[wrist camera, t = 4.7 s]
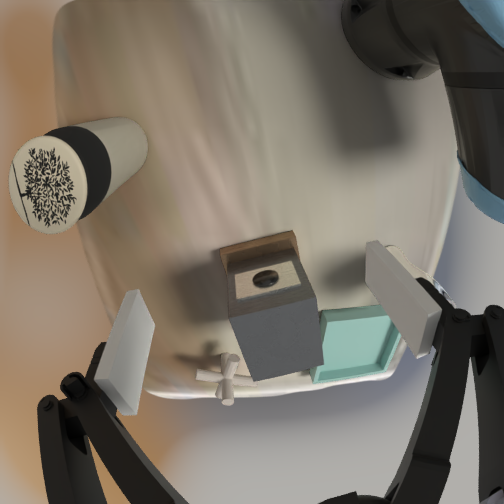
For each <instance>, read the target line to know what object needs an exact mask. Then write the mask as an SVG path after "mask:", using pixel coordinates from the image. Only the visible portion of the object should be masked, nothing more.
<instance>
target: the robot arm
mask: <svg viewBox="0 0 504 504" xmlns="http://www.w3.org/2000/svg"><path fill="white" fill-rule="evenodd" d="M341 18H342V26H343V30H344V33H345V35H346V38H347V40H348V42H349V44H350V46H351V47H352V49H353V50H354V52H355V53H356V54H357V56H358V57H359V58H360V59H361V60H362V61H363V62H364V63H365V64H366V65H367V66H369V67H370V68H371V69H373V70H374V71H376V72H377V73H379V74H381V75H383V76H385V77H388V78H391V79H395V80H418V79H422V78H425V77H427V76H429V75H431V74H432V73H434V72H435V71H437V70H438V69H441V72H442V76H443V79H444V83H445V88H446V92H447V96H448V100H449V104H450V109H451V114H452V118H453V124H454V129H455V135H456V140H457V147H458V150H457V158H458V162H459V164H460V168H461V173H462V180H463V186H464V189H465V192H466V194H467V196H468V197H469V199H470V200H471V201H472V202H473V203H474V204H475V206H476V207H477V208H478V209H479V210H480V211H482V212H483V213H484V214H486V215H487V216H489V217H491V218H492V219H494V220H496V221H498V222H500V223H503V224H504V0H344V3H343V6H342V13H341ZM365 283H366V284H367V286H368V287H369V289H370V290H371V291H372V293H373V294H374V296H375V297H376V299H377V300H378V301H379V303H380V304H381V306H382V307H383V309H384V310H385V312H386V313H387V315H388V316H389V318H390V319H391V320H392V322H393V323H394V325H395V326H396V328H397V329H398V331H399V333H400V334H401V336H402V337H403V339H404V340H405V342H406V343H407V345H408V346H409V348H410V349H411V351H412V353H413V354H414V356H415V357H416V359H417V358H419V357H422V356H425V355H427V354H429V353H430V351H431V347H432V345H433V346H434V348H435V349H436V353H435V356H434V358H433V361H432V364H431V365H432V369H431V373H430V377H429V381H428V385H427V388H426V393H425V396H424V399H423V402H422V406H421V409H420V412H419V415H418V419H417V422H416V424H415V427H414V430H413V433H412V436H411V438H410V441H409V444H408V447H407V449H406V452H405V454H404V457H403V459H402V462H401V464H400V466H399V469H398V471H397V474H396V476H395V478H394V479H393V481H392V483H391V485H390V487H389V488H388V490H387V492H386V494H385V497H384V498H381V497H377V496H371V495H357V493H356V491H355V492H351V493H348V494H345V495H341V496H337V497H334V498H330V499H327V500H325V501H323V502H321V503H319V504H438V503H439V500H440V498H441V495H442V492H443V490H444V487H445V484H446V481H447V478H448V475H449V472H450V468H451V463H450V462H449V459H450V455H451V452H452V448H453V444H454V441H455V437H456V433H457V429H458V424H459V420H460V415H461V410H462V405H463V400H464V394H465V388H466V382H467V375H468V367H469V359H470V357H471V362H472V368H473V375H474V383H475V390H476V400H477V412H478V427H479V490H478V492H479V504H504V309H503V308H502V307H500V306H498V305H489V306H488V307H487V308H486V309H485V311H484V314H482V315H470V313H468V312H467V311H466V310H463V309H457V308H454V307H453V306H452V305H451V304H450V303H449V302H448V300H447V299H446V298H445V297H444V296H443V295H442V294H441V293H440V292H439V291H438V290H437V289H436V288H435V286H434V285H433V284H432V283H431V282H430V281H428V280H426V279H424V278H422V277H419V278H416V279H415V278H414V277H413V276H412V275H411V274H410V273H409V272H408V271H407V270H406V269H405V268H404V267H403V266H402V265H401V264H400V263H399V261H398V260H397V259H396V258H395V257H394V256H393V255H392V254H391V253H390V252H389V251H388V250H387V249H386V248H385V247H384V246H383V245H382V244H381V243H380V242H379V241H378V240H376V241H372V242H367V243H366V272H365ZM154 328H155V324H154V322H153V320H152V318H151V316H150V313H149V311H148V309H147V307H146V305H145V302H144V300H143V298H142V296H141V293H140V291H139V289H136V290H131V291H127V293H126V295H125V297H124V300H123V302H122V305H121V307H120V309H119V312H118V314H117V317H116V319H115V322H114V325H113V327H112V330H111V332H110V335H109V338H108V341H107V342H101V344H100V345H99V346H98V347H97V348H96V350H95V352H94V355H93V358H92V360H91V364H90V366H89V368H88V371H87V374H86V377H85V378H84V376H83V375H82V374H81V373H79V372H72V373H70V374H68V375H67V376H66V377H64V379H63V380H62V382H61V385H60V389H61V391H62V392H63V393H64V394H65V396H66V397H67V398H66V399H62V400H58V399H57V398H56V397H55V396H54V395H47V396H45V397H43V398H42V399H41V401H40V402H39V404H38V407H37V415H38V432H39V444H40V453H41V461H42V469H43V475H44V480H45V486H46V492H47V497H48V502H49V504H107V501H106V498H105V496H104V493H103V489H102V487H101V483H100V480H99V477H98V474H97V470H96V467H95V463H94V459H93V456H92V452H91V448H90V444H89V440H88V437H89V439H90V441H91V443H92V444H93V446H94V448H95V450H96V452H97V453H98V455H99V457H100V458H101V460H102V462H103V463H104V465H105V466H106V468H107V469H108V471H109V473H110V474H111V476H112V477H113V479H114V480H115V482H116V483H117V485H118V486H119V488H120V489H121V491H122V492H123V494H124V495H125V496H126V498H127V499H128V501H129V502H130V503H131V504H189V503H188V502H187V501H186V500H185V499H184V498H183V497H182V496H181V495H180V494H179V493H178V492H177V491H176V490H175V489H174V488H173V487H172V485H171V484H170V483H169V482H168V481H167V480H166V479H165V477H164V476H163V475H162V474H161V473H160V472H159V471H158V469H157V468H156V467H155V466H154V465H153V464H152V462H151V461H150V460H149V459H148V457H147V456H146V455H145V453H144V452H143V451H142V450H141V448H140V447H139V446H138V444H136V442H135V441H134V439H133V438H132V437H131V435H130V434H129V432H128V431H127V430H126V428H125V427H124V425H123V424H122V423H121V421H120V420H119V418H118V417H117V416H116V412H117V409H118V410H119V411H120V412H121V414H122V415H137V411H138V405H139V399H140V394H141V389H142V384H143V379H144V374H145V369H146V364H147V359H148V354H149V350H150V345H151V341H152V336H153V332H154Z"/></svg>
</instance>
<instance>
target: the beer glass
mask: <svg viewBox="0 0 504 504" xmlns="http://www.w3.org/2000/svg"><path fill="white" fill-rule="evenodd" d="M385 248H386V249H387V250H388V251H389V252H390V253H391V254H392V255H393V256H394V257H395V258H396V259H397V260H398V261H399V263H400V264H401V265H402V266H403V267H404V268H405V269H406V270H407V271H408V272H409V273H410V274H411V275H412V276H413V277H414V278H415V279H416V278H419V277H422V278H424V279H426V280H428V281H430V282H431V283H432V284H433V285H434V286H435V288H436V289H437V290H438V291H439V292H440V293H441V294H442V295H443V296H444V297H445V298H446V299H447V300H448V302H449V303H450V304H451V305H452V306H453V307H454V308H456V304H455V303H454V302H453V301H452V299H451V298H450V297H449V295H448V294H447V293H446V291H445V290H444V289H443V288H442V287H441V285H440V284H439V283H438V282H437V281H436V280H435V279H434V278H432V277H431V276H430V275H428V274H427V273H426V272H424V271H422V270H421V269H419V268H418V267H416V266H414V265H413V264H411V263H410V262H409V261H408V260H407V258H406V257H405V255H404V253H403V252H402V250H401V249H400V248H398V247H396V246H388V247H385Z"/></svg>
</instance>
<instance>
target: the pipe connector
mask: <svg viewBox="0 0 504 504" xmlns="http://www.w3.org/2000/svg"><path fill="white" fill-rule="evenodd" d="M239 361H240V358H239V356H238V355H236V354H229V353H223V354H221V372H215V371H208V370H202V369H197V370H196V380H203V381H209V382H216V383H219V385H218V388H217V391H216V393H215V395H216V397H217V398H220V399H222V404H224V405H232V404H233V403H234V396H233V385H240V386H249V387H257V384H258V381H255V382H253V379H252V377H251V376H245V375H237V374H235V371H236V369H237V366H238V364H239Z"/></svg>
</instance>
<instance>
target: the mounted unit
mask: <svg viewBox="0 0 504 504" xmlns="http://www.w3.org/2000/svg"><path fill="white" fill-rule="evenodd" d="M220 257H221V260H222V263H223V266H224V269H225V272H226V275H227V282H228V309H229V320H230V323H231V325H232V328H233V331H234V333H235V336H236V339H237V341H238V344H239V346H240V349H241V352H242V354H243V357H244V359H245V362H246V364H247V367H248V369H249V372H250V374H251V377H252V379H253V382H255V381H260V380H265V379H269V378H274V377H278V376H282V375H287V374H291V373H295V372H299V371H303V370H307V369H310V368H314V367H318V366H321V365H324V357H323V348H322V339H321V331H320V323H319V315H318V307H317V299H316V295H315V293H314V291H313V289H312V286H311V284H310V282H309V280H308V277H307V275H306V273H305V271H304V269H303V266H302V264H301V262H300V257H299V252H298V246H297V241H296V236H295V234H294V232H293V230H292V231H288V232H284V233H280V234H276V235H272V236H268V237H264V238H260V239H256V240H252V241H248V242H244V243H240V244H236V245H232V246H228V247H224V248H220Z"/></svg>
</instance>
